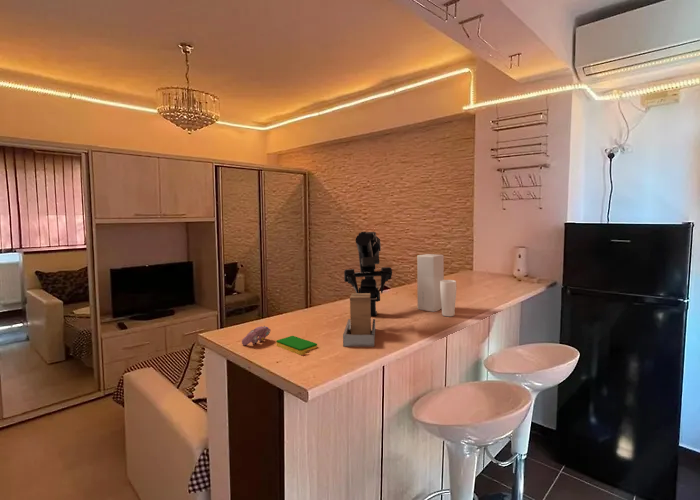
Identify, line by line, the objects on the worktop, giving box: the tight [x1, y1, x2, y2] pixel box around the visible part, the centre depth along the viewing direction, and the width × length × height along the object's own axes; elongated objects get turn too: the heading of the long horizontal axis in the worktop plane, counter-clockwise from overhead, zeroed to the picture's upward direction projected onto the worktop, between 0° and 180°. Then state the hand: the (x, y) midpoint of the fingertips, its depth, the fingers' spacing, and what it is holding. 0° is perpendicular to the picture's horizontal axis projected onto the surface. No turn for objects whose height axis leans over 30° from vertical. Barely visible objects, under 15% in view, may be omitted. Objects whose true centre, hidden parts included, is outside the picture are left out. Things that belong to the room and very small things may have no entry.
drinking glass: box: [440, 279, 457, 318], centre depth 167 cm, size 7×7×15 cm
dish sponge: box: [275, 335, 318, 356], centre depth 131 cm, size 7×14×2 cm, turn 45°
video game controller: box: [241, 325, 271, 346], centre depth 137 cm, size 10×5×7 cm, turn 148°
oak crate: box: [349, 292, 372, 335], centre depth 142 cm, size 7×7×14 cm
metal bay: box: [342, 318, 376, 348], centre depth 138 cm, size 20×10×5 cm, turn 175°
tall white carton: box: [416, 253, 445, 313], centre depth 179 cm, size 9×9×25 cm
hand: (370, 293), depth 149 cm, fingers open, 9 cm apart
